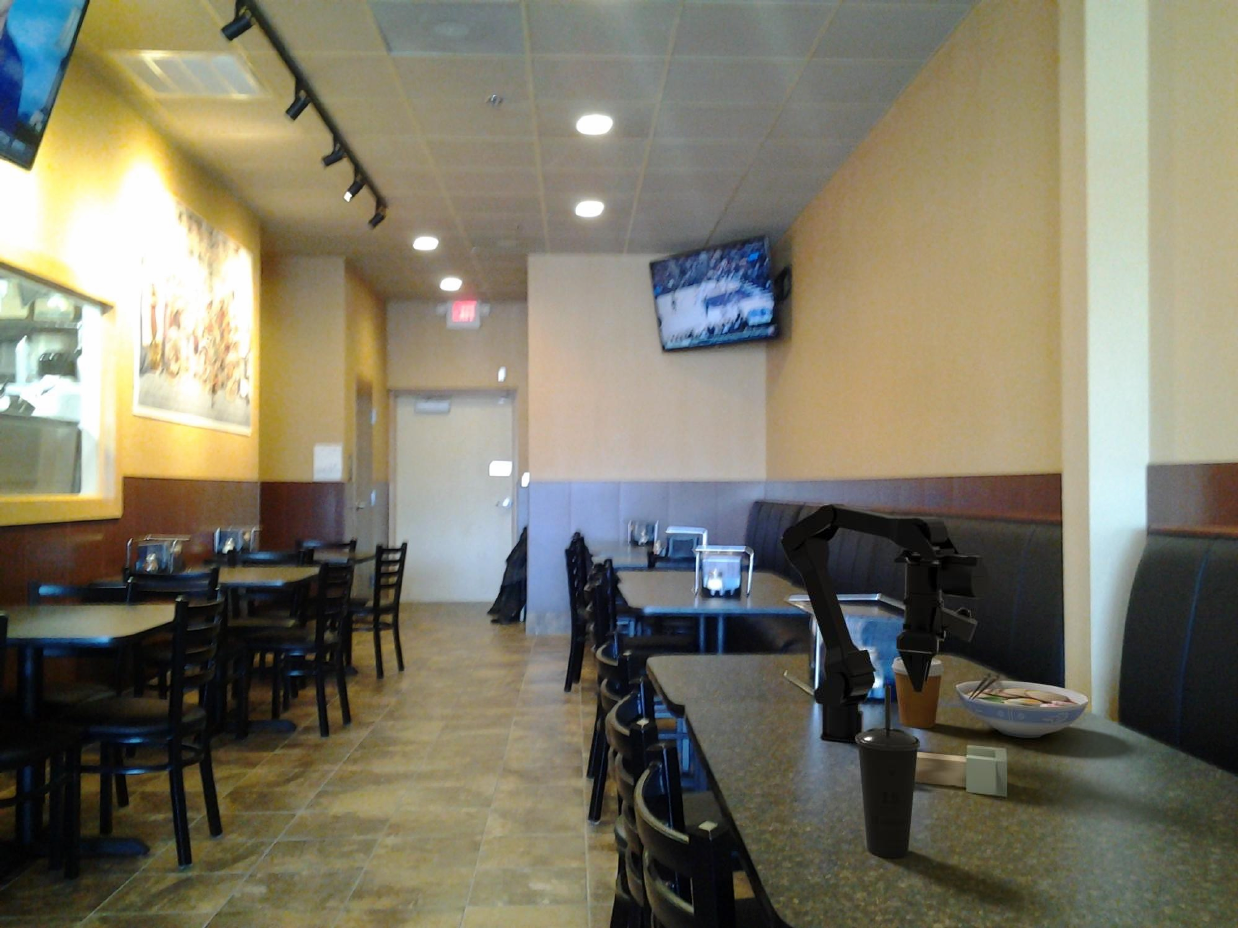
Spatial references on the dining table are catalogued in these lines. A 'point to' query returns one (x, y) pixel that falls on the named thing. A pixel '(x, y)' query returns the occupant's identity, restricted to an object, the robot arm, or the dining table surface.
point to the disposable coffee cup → (917, 695)
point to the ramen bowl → (1021, 706)
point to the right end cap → (986, 770)
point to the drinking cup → (887, 785)
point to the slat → (941, 769)
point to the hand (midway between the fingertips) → (921, 686)
